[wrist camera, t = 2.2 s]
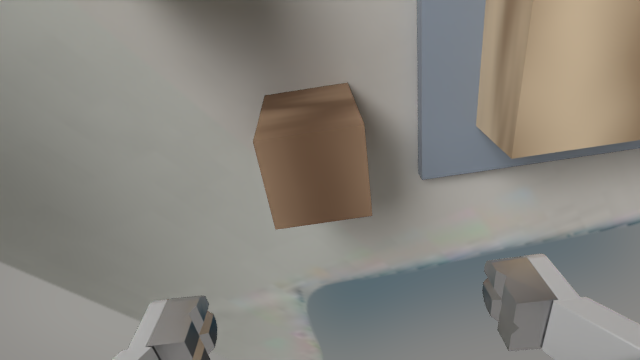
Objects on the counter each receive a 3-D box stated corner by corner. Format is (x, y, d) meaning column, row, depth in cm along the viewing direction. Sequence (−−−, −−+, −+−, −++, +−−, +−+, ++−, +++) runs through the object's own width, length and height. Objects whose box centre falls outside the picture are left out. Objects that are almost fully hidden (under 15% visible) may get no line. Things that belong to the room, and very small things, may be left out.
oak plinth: (470, 120, 21) (511, 158, 17) (484, -93, 16) (548, -112, 12) (647, 93, 21) (732, 126, 17) (718, -132, 16) (866, -166, 12)
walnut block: (281, 167, 22) (275, 229, 17) (264, 95, 20) (252, 141, 15) (355, 156, 22) (372, 215, 17) (347, 82, 20) (364, 124, 15)
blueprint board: (418, 173, 23) (422, 179, 22) (415, -173, 15) (421, -179, 14) (682, 134, 22) (694, 139, 22) (829, -245, 14) (856, -256, 14)
